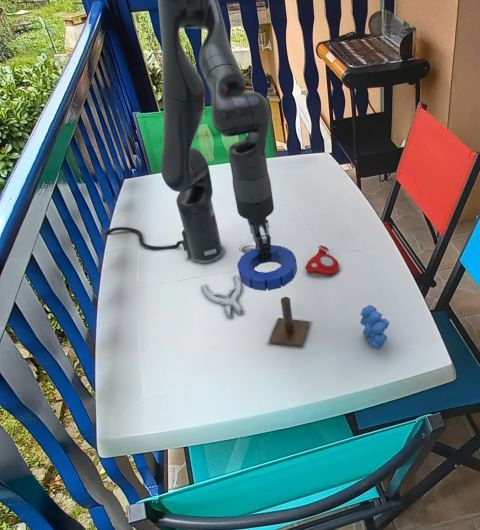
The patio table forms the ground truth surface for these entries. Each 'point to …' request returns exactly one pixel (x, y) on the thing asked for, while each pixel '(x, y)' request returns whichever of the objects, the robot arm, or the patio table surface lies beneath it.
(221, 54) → the robot arm
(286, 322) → the post
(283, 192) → the patio table surface
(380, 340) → the grapes
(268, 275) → the ring
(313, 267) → the tracker holder
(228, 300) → the pliers
